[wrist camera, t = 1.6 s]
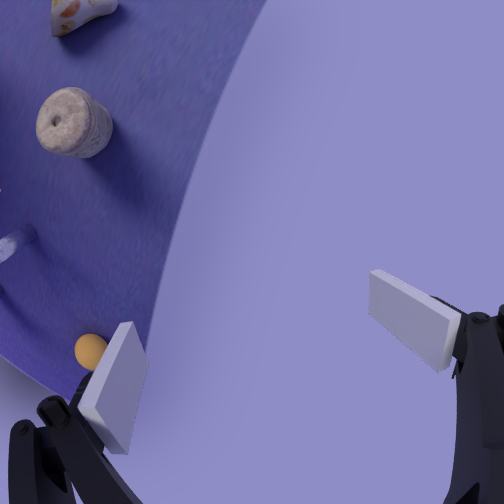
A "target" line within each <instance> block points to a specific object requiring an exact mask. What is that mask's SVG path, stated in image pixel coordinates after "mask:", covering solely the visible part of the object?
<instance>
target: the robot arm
mask: <svg viewBox="0 0 504 504" xmlns="http://www.w3.org/2000/svg"><path fill="white" fill-rule="evenodd" d="M369 315H370V316H371V317H372V318H374V319H375V320H376V321H377V322H378V323H380V324H381V325H382V326H383V327H384V328H386V329H387V330H388V331H389V332H391V334H393V335H394V336H395V337H396V338H397V339H399V340H400V341H401V342H402V343H403V344H404V345H406V346H407V347H408V348H409V349H410V350H412V351H413V352H414V353H415V354H416V355H417V356H418V357H420V358H421V359H422V360H423V361H424V362H425V363H427V364H428V365H429V366H430V367H431V368H432V369H433V370H435V371H436V372H437V373H439V372H441V371H443V370H445V369H446V368H448V367H449V366H450V362H451V358H452V356H453V357H455V358H456V359H457V361H456V365H455V368H454V371H453V375H452V379H454V376H455V375H456V386H457V424H456V443H455V454H454V463H453V471H452V478H451V484H450V489H449V492H448V494H447V496H446V498H445V500H444V503H443V504H504V304H503V305H501V306H500V307H499V312H498V315H497V316H494V317H490V316H489V315H487V314H485V313H482V312H472V313H470V314H469V315H468V314H466V313H464V312H462V311H461V310H459V309H457V308H455V307H454V306H452V305H451V306H450V304H448V303H446V302H445V301H443V300H441V299H439V298H437V297H433V296H429V295H427V294H425V293H423V292H421V291H420V290H418V289H416V288H414V287H412V286H411V285H409V284H407V283H405V282H403V281H401V280H399V279H397V278H395V277H393V276H392V275H390V274H388V273H386V272H384V271H382V270H380V269H377V270H374V271H370V272H369ZM148 365H149V362H148V360H147V357H146V355H145V352H144V350H143V347H142V345H141V342H140V340H139V337H138V334H137V331H136V329H135V326H134V323H133V321H132V322H125V323H120V324H119V326H118V328H117V330H116V332H115V333H114V335H113V337H112V339H111V341H110V343H109V344H108V346H107V348H106V350H105V352H104V354H103V356H102V358H101V360H100V362H99V363H98V365H97V367H96V369H95V371H94V372H89V373H88V374H87V375H86V376H85V377H84V378H83V379H82V381H81V383H80V385H79V388H77V390H76V394H74V396H73V398H72V400H71V402H70V404H69V406H68V405H67V403H66V402H65V400H64V399H63V398H62V397H61V396H58V395H55V396H50V397H47V398H45V399H44V400H42V402H41V403H40V404H39V405H38V407H37V413H38V415H39V417H40V418H41V419H42V421H43V422H44V423H45V425H46V426H45V427H39V428H36V427H35V425H34V424H33V423H32V422H31V421H30V420H27V419H26V420H21V421H18V422H17V423H15V424H14V426H13V427H12V429H11V433H10V443H9V461H8V489H9V504H76V500H75V496H74V492H73V488H72V483H73V485H74V487H75V489H76V491H77V493H78V495H79V496H80V498H81V500H82V501H83V503H84V504H143V503H142V502H141V501H140V500H139V499H138V497H137V496H136V495H135V494H134V493H133V491H132V490H131V489H130V488H129V487H128V486H127V484H126V483H125V482H124V480H123V479H122V478H121V477H120V475H119V474H118V472H117V471H116V470H115V469H114V467H113V466H112V464H111V463H110V462H109V460H108V459H107V457H106V456H105V455H104V454H103V450H104V446H106V448H107V449H108V450H109V451H110V453H111V454H126V455H127V454H128V451H129V446H130V441H131V436H132V432H133V427H134V422H135V418H136V413H137V409H138V405H139V401H140V396H141V392H142V388H143V384H144V380H145V376H146V373H147V369H148ZM71 482H72V483H71Z"/></svg>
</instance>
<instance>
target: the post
mask: <svg viewBox="0 0 504 504" xmlns="http://www.w3.org/2000/svg"><path fill="white" fill-rule="evenodd" d="M35 237H36V230H35V228H34V227H33V226H32V225H30V224H28V225H26V226H24V227H22V228H20V229H18V230H16V231H14V232H12V233H11V234H9V235H7V236H5V237H4V238H2V239H0V263H2V262H3V261H5V260H6V259H7V258H9V257H10V256H11V255H13V254H14V253H16V252H17V251H18V250H20V249H21V248H23V247H24V246H26V245H27V244H28V243H30V242H31V241H33V240H34V239H35Z"/></svg>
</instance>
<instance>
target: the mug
mask: <svg viewBox="0 0 504 504" xmlns="http://www.w3.org/2000/svg"><path fill="white" fill-rule="evenodd" d="M117 6H118V0H52V7H51V28H52V36H53V37H58V36H62V35H65V34H68V33H70V32H72V31H74V30H75V29H77V28H78V27H80V26H82V25H83V24H85V23H86V22H88V21H90V20H92V19H94V18H96V17H99V16H103V15H107V14H111V13H112V12H113V11H115V10H116V8H117Z"/></svg>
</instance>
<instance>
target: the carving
mask: <svg viewBox="0 0 504 504" xmlns="http://www.w3.org/2000/svg"><path fill="white" fill-rule="evenodd" d="M112 131H113V123H112V119H111V116H110V114H109V113H108V111H107V110H106V109H105V108H104V107H103V106H101V105H100V104H99V103H98V102H97V101H96V100H95V99H94V98H93V97H92V96H91V95H90V94H89V93H87V92H85V91H84V90H82V89H80V88H72V87H67V88H62V89H60V90H57V91H56V92H54V93H53V94H52V95H51V96H50V97H49V98H47V100H46V101H45V102H44V103H43V105H42V107H41V109H40V111H39V113H38V117H37V122H36V134H37V138H38V140H39V142H40V144H41V145H42V146H43V147H44V148H45V149H46V150H48V151H49V152H51V153H54V154H57V155H65V156H73V157H76V158H89V157H92V156H94V155H95V154H97V153H99V152H100V151H101V150H102V149H104V148H105V147H106V146H107V144H108V142H109V140H110V138H111V135H112Z"/></svg>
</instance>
